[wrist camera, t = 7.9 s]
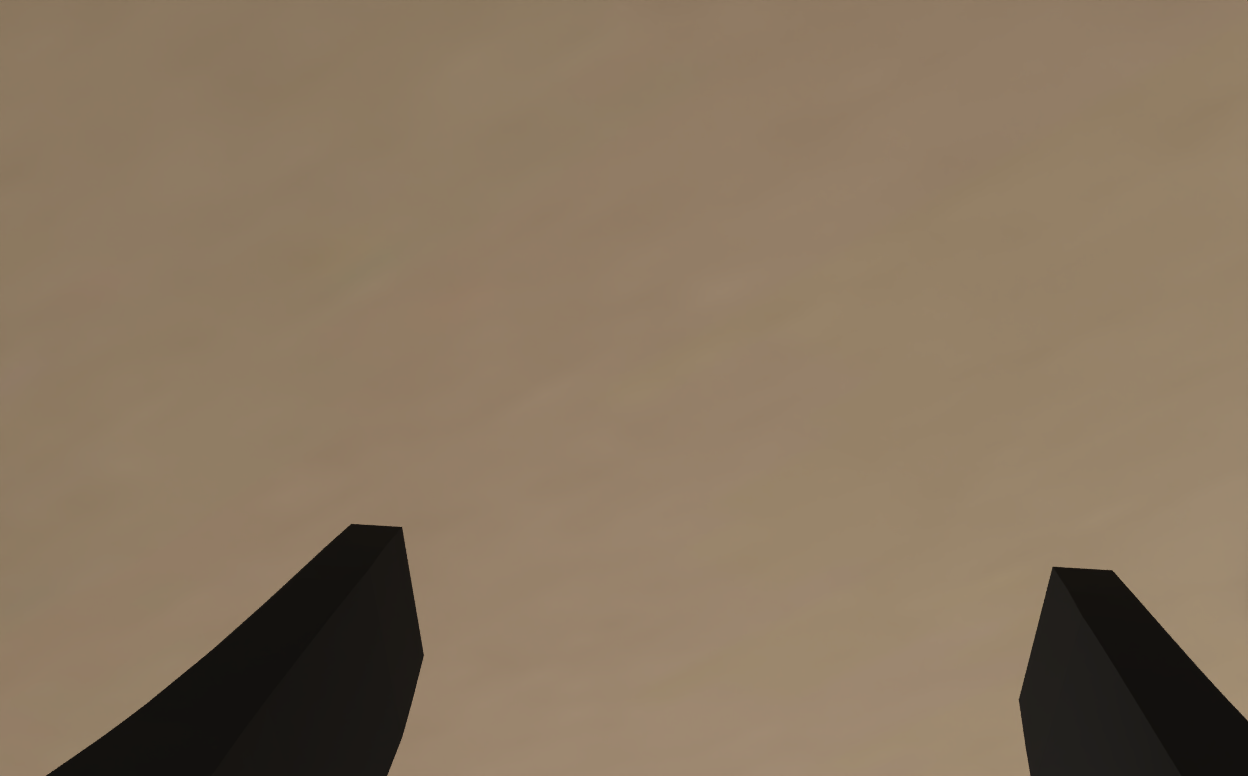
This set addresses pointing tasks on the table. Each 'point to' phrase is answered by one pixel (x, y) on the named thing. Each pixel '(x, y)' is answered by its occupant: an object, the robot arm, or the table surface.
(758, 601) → the table surface
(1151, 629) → the robot arm
